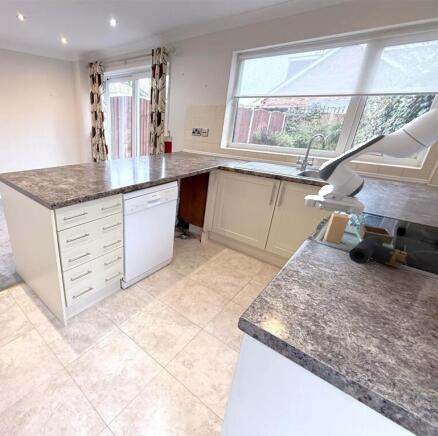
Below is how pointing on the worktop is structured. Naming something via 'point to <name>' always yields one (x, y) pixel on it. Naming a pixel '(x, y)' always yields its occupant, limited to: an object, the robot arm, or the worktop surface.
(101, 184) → the worktop surface
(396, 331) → the worktop surface
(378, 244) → the pipe connector
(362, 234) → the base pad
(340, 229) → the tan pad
